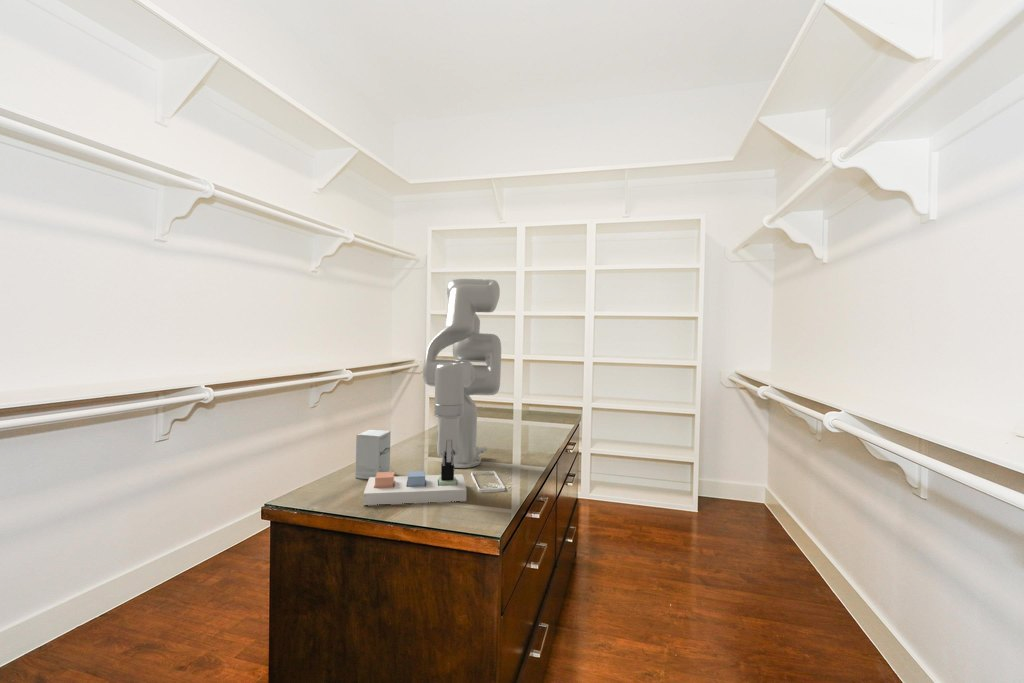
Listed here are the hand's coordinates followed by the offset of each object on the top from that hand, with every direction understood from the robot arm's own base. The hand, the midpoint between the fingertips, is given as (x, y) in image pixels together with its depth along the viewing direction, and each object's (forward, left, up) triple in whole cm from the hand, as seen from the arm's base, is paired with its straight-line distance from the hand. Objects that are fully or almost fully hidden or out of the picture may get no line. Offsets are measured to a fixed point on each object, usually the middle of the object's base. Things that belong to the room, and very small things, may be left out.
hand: (447, 479), depth 123 cm
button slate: (+6, -5, -2) cm, 8 cm away
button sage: (0, 0, -3) cm, 3 cm away
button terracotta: (+13, -10, -2) cm, 16 cm away
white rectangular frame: (-14, +1, -5) cm, 15 cm away
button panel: (+6, -5, -4) cm, 9 cm away
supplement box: (+6, -26, -4) cm, 27 cm away
